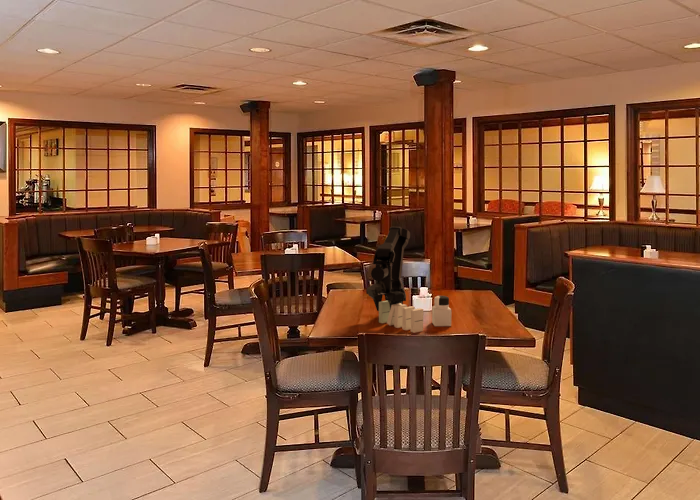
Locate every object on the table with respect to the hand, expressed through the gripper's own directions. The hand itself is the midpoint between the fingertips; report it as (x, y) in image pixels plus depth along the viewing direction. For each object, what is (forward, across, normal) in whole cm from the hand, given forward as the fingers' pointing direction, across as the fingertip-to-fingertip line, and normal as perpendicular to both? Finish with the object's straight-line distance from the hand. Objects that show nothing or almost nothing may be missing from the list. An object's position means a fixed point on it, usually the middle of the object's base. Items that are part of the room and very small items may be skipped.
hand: (384, 312), depth 267 cm
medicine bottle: (+4, +18, +16) cm, 24 cm away
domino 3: (+4, +15, 0) cm, 16 cm away
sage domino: (+4, 0, 0) cm, 4 cm away
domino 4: (+4, +20, 0) cm, 20 cm away
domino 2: (+4, +10, 0) cm, 11 cm away
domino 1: (+4, +5, 0) cm, 6 cm away
